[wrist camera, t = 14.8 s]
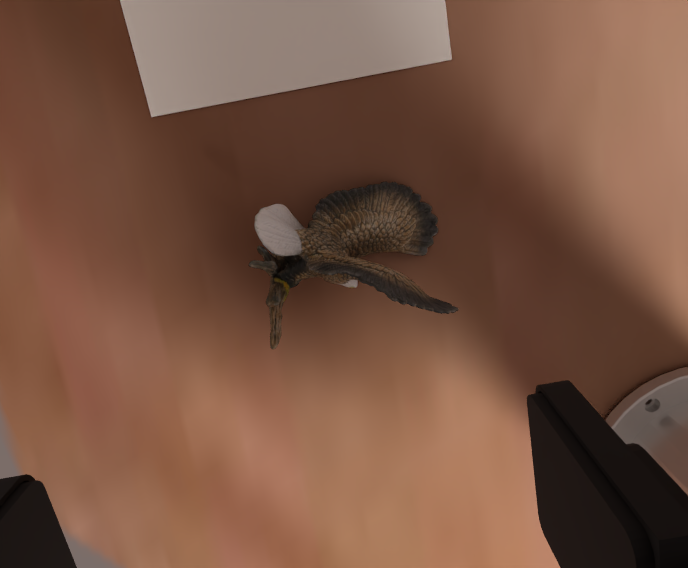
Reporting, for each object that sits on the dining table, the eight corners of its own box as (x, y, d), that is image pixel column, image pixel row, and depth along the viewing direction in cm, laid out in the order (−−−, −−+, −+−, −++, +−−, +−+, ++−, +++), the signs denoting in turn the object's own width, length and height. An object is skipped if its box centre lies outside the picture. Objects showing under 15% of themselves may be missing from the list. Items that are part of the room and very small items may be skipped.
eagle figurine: (298, 358, 31) (464, 329, 29) (241, 341, 24) (451, 301, 22) (284, 228, 33) (438, 192, 31) (227, 179, 26) (419, 129, 24)
